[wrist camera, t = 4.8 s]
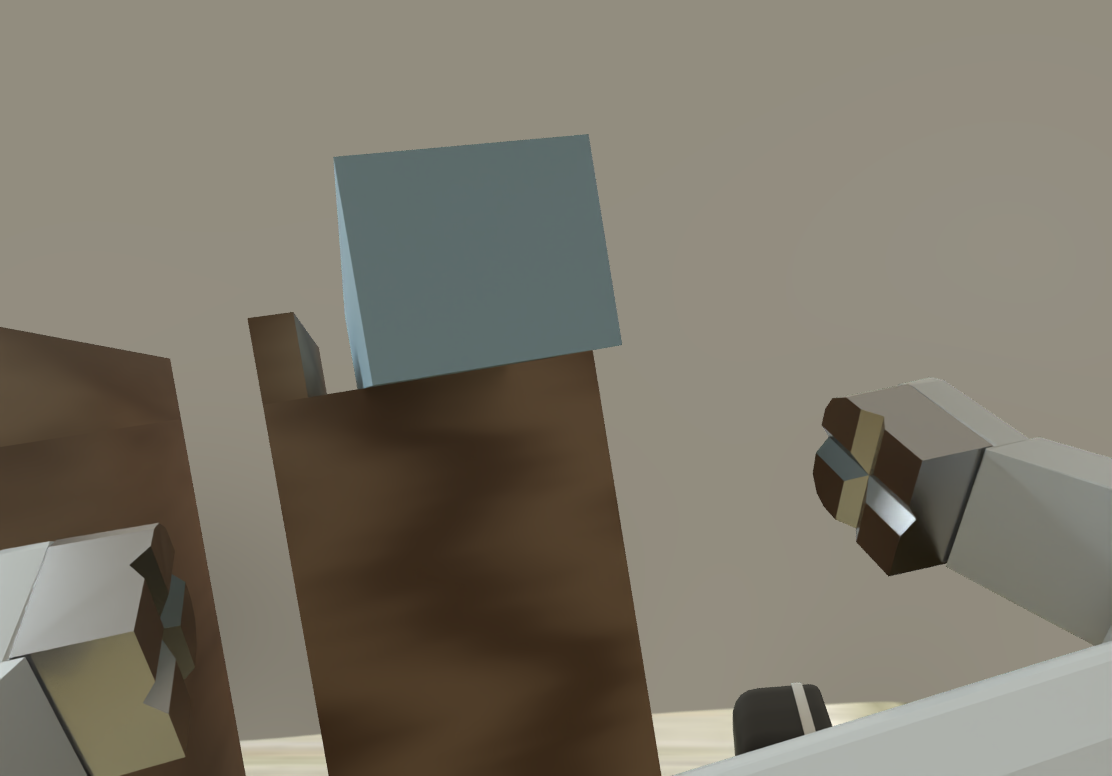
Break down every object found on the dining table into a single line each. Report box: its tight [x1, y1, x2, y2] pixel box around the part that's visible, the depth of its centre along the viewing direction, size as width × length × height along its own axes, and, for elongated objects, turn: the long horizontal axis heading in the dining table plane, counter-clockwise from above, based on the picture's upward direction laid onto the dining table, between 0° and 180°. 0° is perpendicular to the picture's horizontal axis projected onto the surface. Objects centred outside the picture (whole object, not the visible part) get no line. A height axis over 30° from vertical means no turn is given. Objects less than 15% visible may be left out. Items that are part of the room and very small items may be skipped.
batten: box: [334, 134, 622, 389], centre depth 21 cm, size 4×22×3 cm, turn 15°
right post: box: [248, 312, 661, 776], centre depth 27 cm, size 8×15×28 cm, turn 15°
